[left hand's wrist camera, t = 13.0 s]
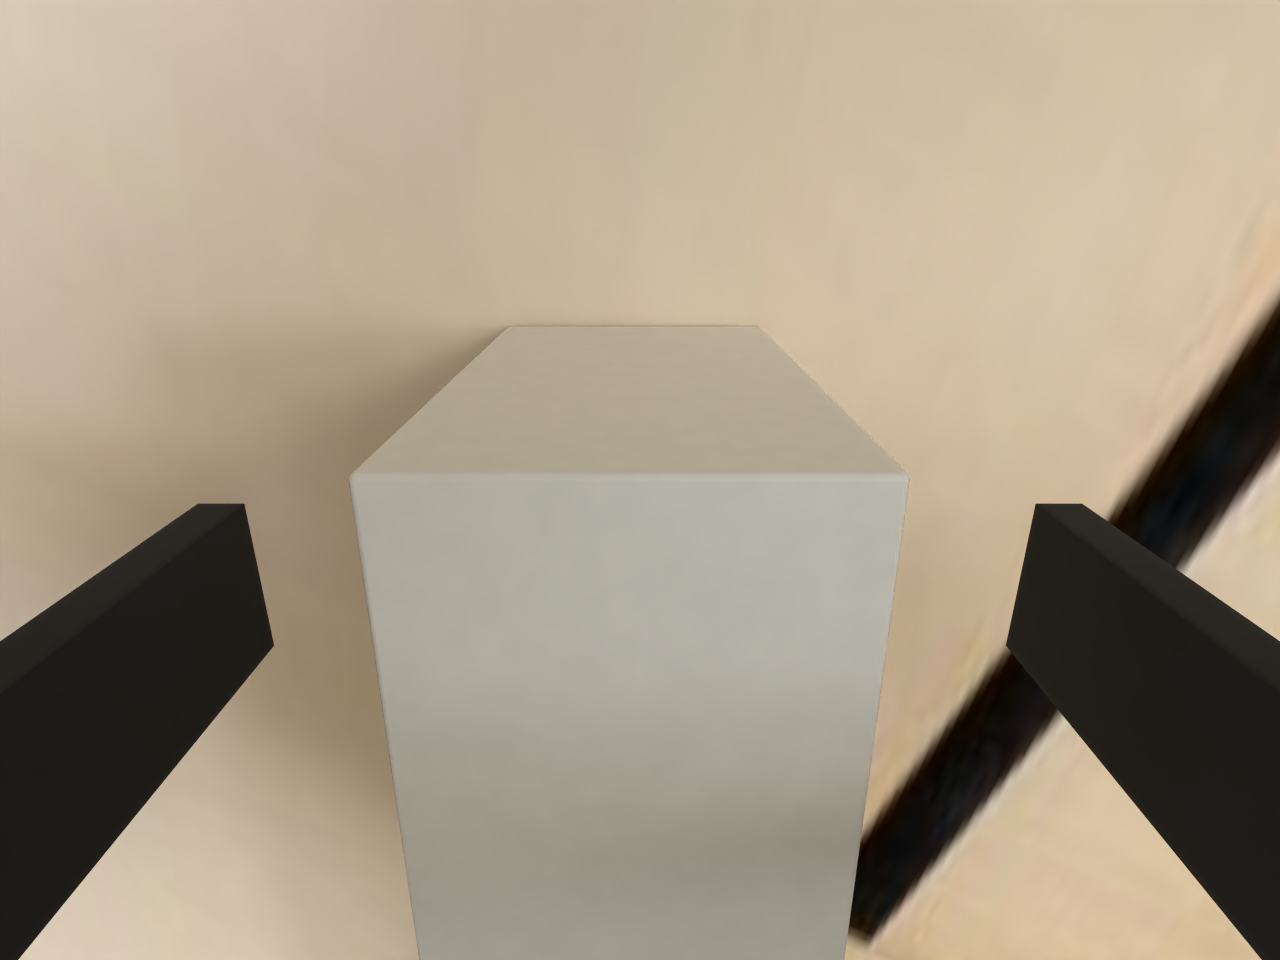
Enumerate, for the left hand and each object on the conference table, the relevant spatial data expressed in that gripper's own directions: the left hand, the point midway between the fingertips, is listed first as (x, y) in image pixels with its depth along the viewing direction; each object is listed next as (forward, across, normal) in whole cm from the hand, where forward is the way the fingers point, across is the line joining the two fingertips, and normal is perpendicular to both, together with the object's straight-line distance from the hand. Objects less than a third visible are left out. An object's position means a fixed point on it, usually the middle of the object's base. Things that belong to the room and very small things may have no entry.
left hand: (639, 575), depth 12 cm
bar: (+5, 0, -9) cm, 10 cm away
